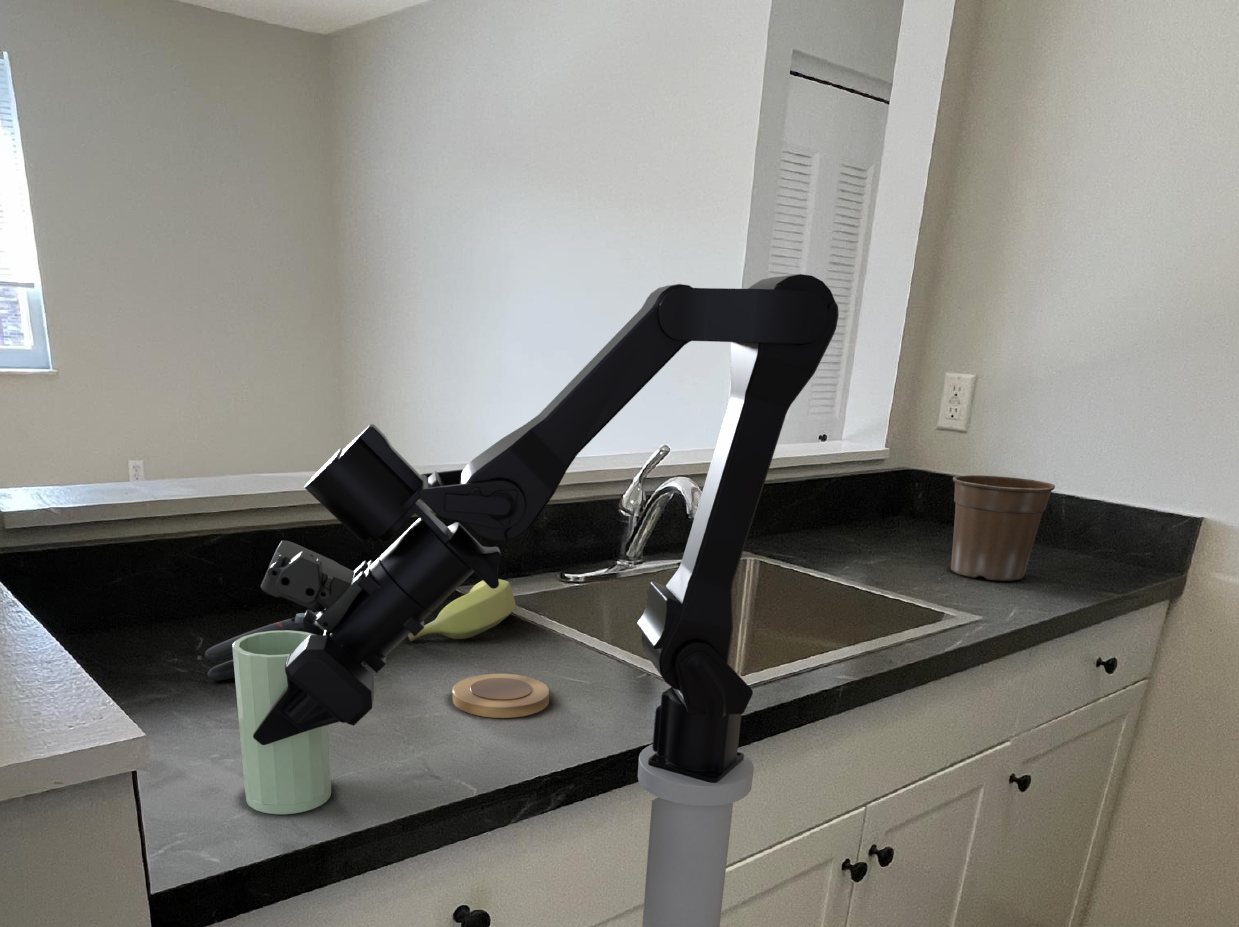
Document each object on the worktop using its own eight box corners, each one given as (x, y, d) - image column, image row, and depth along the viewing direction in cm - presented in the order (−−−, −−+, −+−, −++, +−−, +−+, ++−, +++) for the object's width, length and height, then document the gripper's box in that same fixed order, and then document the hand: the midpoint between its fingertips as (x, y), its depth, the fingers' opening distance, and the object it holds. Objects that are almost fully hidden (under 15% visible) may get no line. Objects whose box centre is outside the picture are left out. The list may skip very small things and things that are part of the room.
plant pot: (917, 565, 174) (933, 474, 169) (984, 561, 181) (1001, 473, 175) (986, 588, 161) (1005, 489, 155) (1055, 582, 167) (1076, 487, 162)
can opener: (340, 644, 116) (338, 598, 114) (372, 659, 112) (370, 611, 110) (192, 673, 104) (187, 622, 102) (221, 691, 100) (216, 639, 98)
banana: (542, 565, 127) (429, 612, 113) (552, 606, 129) (442, 656, 115) (472, 573, 136) (360, 617, 122) (483, 611, 138) (373, 658, 124)
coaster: (567, 697, 103) (567, 685, 103) (512, 726, 95) (513, 713, 95) (490, 677, 108) (490, 666, 107) (432, 703, 100) (432, 691, 99)
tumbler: (348, 791, 80) (341, 641, 76) (287, 822, 75) (276, 662, 70) (291, 771, 83) (281, 625, 79) (228, 799, 78) (213, 644, 73)
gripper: (336, 487, 80) (206, 616, 82) (313, 533, 63) (149, 695, 65) (433, 582, 84) (308, 702, 86) (437, 649, 67) (280, 797, 69)
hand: (265, 719), depth 77 cm, fingers open, 8 cm apart
